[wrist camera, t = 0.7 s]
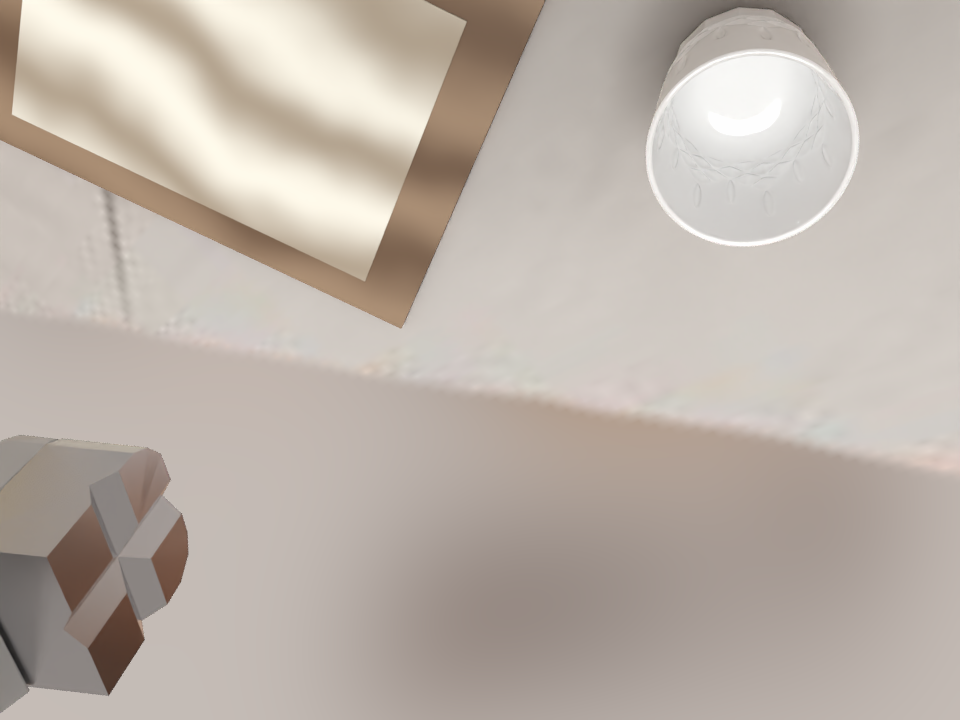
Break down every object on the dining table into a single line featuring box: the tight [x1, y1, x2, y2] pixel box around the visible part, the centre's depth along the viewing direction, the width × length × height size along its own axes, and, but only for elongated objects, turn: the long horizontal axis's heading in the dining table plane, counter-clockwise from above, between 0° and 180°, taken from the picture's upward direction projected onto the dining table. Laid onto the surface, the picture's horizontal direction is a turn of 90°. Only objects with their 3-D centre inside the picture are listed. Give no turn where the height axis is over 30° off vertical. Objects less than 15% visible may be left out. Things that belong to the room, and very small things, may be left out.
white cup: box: [645, 7, 859, 247], centre depth 39 cm, size 8×8×10 cm
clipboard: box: [0, 0, 545, 328], centre depth 47 cm, size 22×28×2 cm
